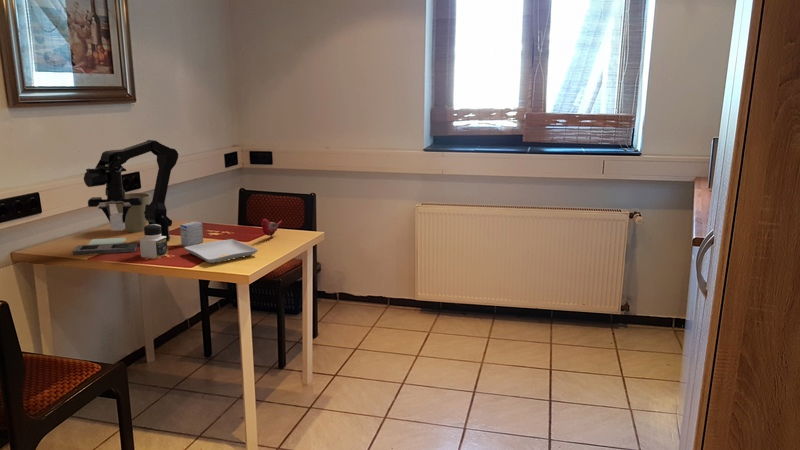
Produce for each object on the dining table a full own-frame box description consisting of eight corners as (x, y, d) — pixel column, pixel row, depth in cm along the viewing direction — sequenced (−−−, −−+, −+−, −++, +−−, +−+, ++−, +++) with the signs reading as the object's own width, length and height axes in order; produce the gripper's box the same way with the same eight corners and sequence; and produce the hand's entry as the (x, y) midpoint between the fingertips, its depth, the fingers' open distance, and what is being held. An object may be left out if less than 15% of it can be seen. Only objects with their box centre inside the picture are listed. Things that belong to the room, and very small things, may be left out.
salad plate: (259, 257, 230) (259, 248, 230) (209, 267, 216) (208, 258, 215) (232, 246, 245) (232, 238, 244) (183, 255, 231) (182, 246, 230)
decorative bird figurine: (258, 242, 250) (257, 219, 247) (280, 233, 266) (279, 211, 264) (264, 243, 249) (263, 220, 247) (285, 233, 265) (285, 212, 263)
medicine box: (196, 240, 250) (195, 221, 248) (203, 242, 248) (202, 222, 246) (181, 245, 244) (179, 224, 242) (188, 246, 242) (187, 226, 240)
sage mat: (126, 239, 251) (126, 237, 251) (122, 245, 242) (121, 243, 241) (92, 240, 247) (92, 239, 247) (87, 246, 238) (86, 245, 238)
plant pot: (116, 228, 268) (112, 194, 265) (151, 225, 275) (148, 191, 271) (118, 236, 255) (114, 199, 252) (154, 232, 262) (152, 197, 259)
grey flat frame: (138, 245, 241) (137, 242, 241) (134, 251, 232) (134, 248, 232) (78, 248, 235) (78, 245, 235) (72, 255, 227) (72, 251, 226)
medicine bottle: (157, 258, 224) (155, 228, 222) (140, 257, 226) (138, 226, 223) (168, 253, 231) (166, 223, 228) (151, 252, 233) (149, 222, 230)
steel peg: (125, 227, 236) (123, 212, 234) (123, 230, 232) (121, 215, 230) (113, 228, 235) (111, 213, 233) (111, 230, 230) (109, 215, 229)
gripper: (142, 179, 239) (145, 217, 243) (92, 181, 234) (96, 219, 238) (138, 184, 228) (142, 223, 232) (85, 185, 224) (89, 225, 227)
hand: (117, 222), depth 232 cm, fingers closed on steel peg, 4 cm apart
